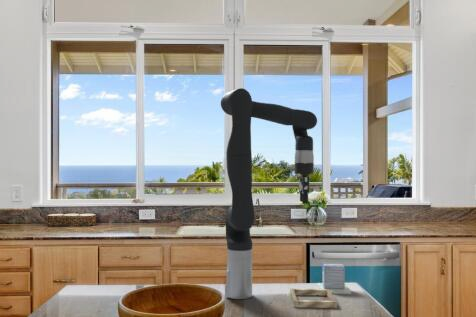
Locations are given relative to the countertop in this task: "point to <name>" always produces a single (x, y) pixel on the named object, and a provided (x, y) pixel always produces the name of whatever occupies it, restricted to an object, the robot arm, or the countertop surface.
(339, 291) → the sage mat
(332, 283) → the medicine box
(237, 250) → the robot arm
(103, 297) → the countertop surface
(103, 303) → the countertop surface
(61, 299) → the countertop surface
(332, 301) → the pocket tray
